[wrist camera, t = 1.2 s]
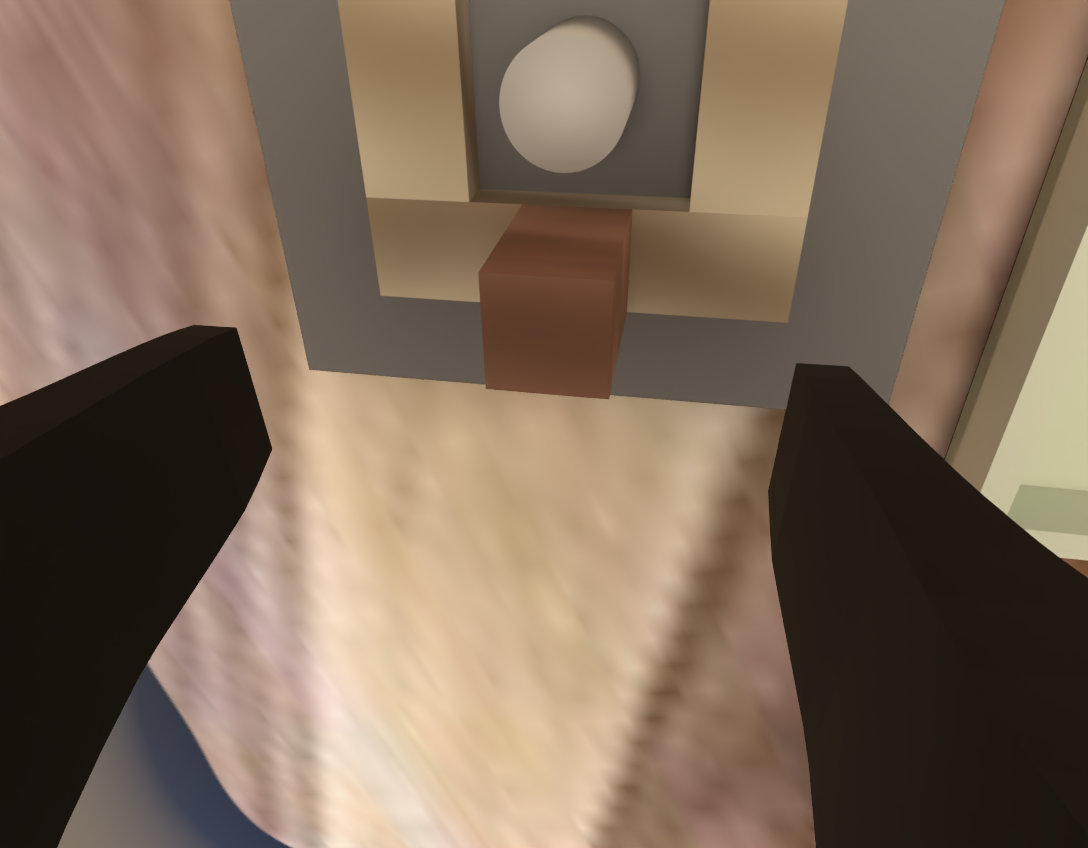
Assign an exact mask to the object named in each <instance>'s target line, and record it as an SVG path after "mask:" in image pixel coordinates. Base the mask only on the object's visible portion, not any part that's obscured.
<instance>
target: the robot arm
mask: <svg viewBox="0 0 1088 848" xmlns="http://www.w3.org/2000/svg"><path fill="white" fill-rule="evenodd" d="M271 451H272V446H271V443H270V440H269V436H268V433H267V429H266V426H265V423H264V419H263V416H262V412H261V409H260V406H259V402H258V399H257V396H256V392H255V389H254V385H253V382H252V379H251V375H250V372H249V368H248V365H247V362H246V358H245V355H244V351H243V348H242V345H241V341H240V338H239V334H238V331H237V328H233V327H217V326H201V325H193V326H189V327H186V328H183V329H180V330H176V331H174V332H171V333H168V334H165V335H163V336H160V337H158V338H155V339H153V340H150V341H148V342H145V343H143V344H141V345H138V346H136V347H133V348H131V349H129V350H127V351H124V352H122V353H120V354H117V355H115V356H113V357H111V358H108V359H106V360H104V361H102V362H99V363H97V364H95V365H93V366H90V367H88V368H86V369H84V370H81V371H79V372H77V373H75V374H73V375H70V376H68V377H66V378H64V379H61V380H59V381H57V382H55V383H52V384H50V385H48V386H46V387H43V388H41V389H39V390H37V391H34V392H32V393H30V394H28V395H25V396H23V397H21V398H18V399H16V400H13V401H11V402H9V403H6V404H4V405H1V406H0V848H57V846H58V844H59V842H60V839H61V837H62V835H63V832H64V829H65V828H66V825H67V823H68V821H69V819H70V817H71V815H72V812H73V810H74V808H75V806H76V804H77V802H78V800H79V798H80V795H81V793H82V791H83V789H84V787H85V785H86V783H87V781H88V778H89V776H90V774H91V772H92V770H93V768H94V766H95V763H96V761H97V759H98V757H99V755H100V753H101V750H102V748H103V746H104V745H105V743H106V741H107V739H108V737H109V735H110V733H111V731H112V729H113V727H114V725H115V723H116V721H117V719H118V717H119V715H120V713H121V711H122V709H123V707H124V705H125V703H126V701H127V699H128V697H129V695H130V694H131V692H132V690H133V688H134V686H135V684H136V682H137V680H138V678H139V676H140V675H141V673H142V671H143V670H144V668H145V666H146V664H147V663H148V661H149V659H150V658H151V656H152V654H153V653H154V651H155V649H156V648H157V646H158V644H159V643H160V641H161V640H162V638H163V637H164V635H165V634H166V632H167V631H168V629H169V628H170V626H171V624H172V623H173V621H174V620H175V618H176V617H177V615H178V614H179V612H180V611H181V609H182V608H183V606H184V605H185V603H186V601H187V600H188V598H189V597H190V595H191V594H192V592H193V591H194V589H195V588H196V586H197V585H198V583H199V582H200V580H201V579H202V577H203V575H204V574H205V572H206V571H207V569H208V568H209V566H210V565H211V563H212V562H213V560H214V559H215V557H216V556H217V554H218V552H219V551H220V549H221V548H222V546H223V545H224V543H225V541H226V540H227V538H228V537H229V535H230V533H231V532H232V530H233V529H234V527H235V526H236V524H237V522H238V521H239V519H240V517H241V516H242V514H243V513H244V511H245V509H246V507H247V505H248V503H249V501H250V499H251V497H252V494H253V492H254V490H255V488H256V486H257V484H258V482H259V479H260V477H261V475H262V472H263V470H264V468H265V465H266V463H267V460H268V458H269V456H270V453H271ZM768 495H769V517H770V536H771V552H772V563H773V569H774V574H775V580H776V585H777V591H778V596H779V601H780V607H781V612H782V617H783V623H784V628H785V633H786V638H787V643H788V649H789V654H790V659H791V664H792V669H793V675H794V680H795V685H796V690H797V696H798V701H799V706H800V711H801V716H802V722H803V727H804V734H805V741H806V748H807V755H808V762H809V772H810V783H811V795H812V806H813V818H814V829H815V841H816V848H1088V578H1087V577H1085V576H1084V575H1083V574H1081V573H1080V572H1078V571H1077V570H1076V569H1074V568H1073V567H1071V566H1070V565H1069V564H1067V563H1066V562H1065V561H1063V560H1062V559H1061V558H1059V557H1058V556H1057V555H1056V554H1054V553H1053V552H1052V551H1050V550H1049V549H1048V548H1047V547H1045V546H1044V545H1043V544H1041V543H1040V542H1039V541H1038V540H1036V539H1035V538H1034V537H1033V536H1031V535H1030V534H1029V533H1028V532H1026V531H1025V530H1024V529H1023V528H1022V527H1021V526H1019V525H1018V524H1017V523H1016V522H1015V521H1013V520H1012V519H1011V518H1010V517H1009V516H1007V515H1006V514H1005V513H1004V512H1003V511H1001V510H1000V509H999V508H998V507H997V506H996V505H994V504H993V503H992V502H991V501H990V500H988V499H987V498H986V497H985V496H984V495H983V494H981V493H980V492H979V491H978V490H977V489H976V488H975V487H974V486H973V485H971V484H970V483H969V482H968V481H967V480H966V479H965V478H964V477H962V476H961V475H960V474H959V473H958V472H957V471H956V470H955V469H954V468H953V467H952V466H951V465H949V464H948V463H947V462H946V461H945V460H944V459H943V458H942V457H941V456H940V455H939V454H938V453H937V452H936V451H935V450H934V449H933V448H931V447H930V446H929V445H928V444H927V443H926V442H925V441H924V440H923V439H922V438H921V437H920V436H919V435H918V434H917V433H916V432H915V431H914V430H913V429H912V428H911V427H910V426H909V425H908V424H907V423H906V422H905V421H904V420H903V419H902V418H901V417H900V416H899V415H898V414H897V413H896V412H895V411H894V410H893V409H892V408H891V407H890V406H889V405H888V404H887V403H886V402H885V401H884V400H883V399H882V398H881V397H880V396H879V395H878V394H877V393H876V392H875V391H874V390H873V389H872V388H871V387H870V386H869V385H868V384H867V383H866V382H865V381H864V380H863V379H862V378H861V377H860V376H859V375H858V374H857V373H856V372H855V371H854V370H852V369H851V368H850V367H849V366H836V365H820V364H804V363H796V366H795V370H794V375H793V380H792V384H791V389H790V393H789V398H788V403H787V407H786V412H785V416H784V421H783V426H782V430H781V435H780V439H779V444H778V449H777V453H776V458H775V462H774V467H773V472H772V476H771V481H770V485H769V490H768Z"/></svg>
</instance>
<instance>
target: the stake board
mask: <svg viewBox="0 0 1088 848" xmlns="http://www.w3.org/2000/svg"><path fill="white" fill-rule="evenodd" d="M468 1H469V17H470V34H471V50H472V67H473V83H474V100H475V116H476V133H477V149H478V166H479V182H480V189H489V190H512V191H536V192H560V193H583V194H607V195H631V196H655V197H678V198H690V197H691V186H692V176H693V166H694V155H695V145H696V134H697V124H698V114H699V103H700V93H701V83H702V72H703V62H704V51H705V41H706V31H707V20H708V10H709V0H468ZM1004 3H1005V0H848V4H847V9H846V14H845V20H844V25H843V30H842V36H841V41H840V47H839V52H838V57H837V63H836V68H835V73H834V79H833V84H832V89H831V95H830V100H829V105H828V111H827V116H826V122H825V127H824V132H823V138H822V143H821V148H820V154H819V159H818V164H817V170H816V175H815V180H814V186H813V191H812V196H811V202H810V207H809V213H808V218H807V223H806V229H805V234H804V239H803V245H802V250H801V255H800V261H799V266H798V271H797V277H796V282H795V288H794V293H793V298H792V304H791V309H790V314H789V320H788V323H785V322H770V321H755V320H740V319H725V318H709V317H694V316H679V315H664V314H649V313H634V312H627V314H626V319H625V324H624V329H623V333H622V338H621V343H620V348H619V353H618V357H617V362H616V367H615V372H614V377H613V382H612V386H611V391H610V395H617V396H629V397H641V398H653V399H665V400H677V401H689V402H701V403H713V404H724V405H736V406H748V407H760V408H772V409H784V410H786V407H787V403H788V398H789V393H790V389H791V384H792V380H793V375H794V370H795V366H796V363H804V364H820V365H836V366H849V367H850V368H851V369H852V370H854V371H855V372H856V373H857V374H858V375H859V376H860V377H861V378H862V379H863V380H864V381H865V382H866V383H867V384H868V385H869V386H870V387H871V388H872V389H873V390H874V391H875V392H876V393H877V394H878V395H879V396H880V397H881V398H882V399H883V400H884V401H885V402H886V403H887V404H889V401H890V397H891V394H892V390H893V387H894V383H895V380H896V376H897V373H898V369H899V366H900V362H901V359H902V356H903V352H904V349H905V345H906V342H907V338H908V335H909V331H910V328H911V324H912V321H913V317H914V314H915V311H916V307H917V304H918V300H919V297H920V293H921V290H922V286H923V283H924V279H925V276H926V273H927V269H928V266H929V262H930V259H931V255H932V252H933V248H934V245H935V241H936V238H937V234H938V231H939V228H940V224H941V221H942V217H943V214H944V210H945V207H946V203H947V200H948V196H949V193H950V189H951V186H952V183H953V179H954V176H955V172H956V169H957V165H958V162H959V158H960V155H961V151H962V148H963V145H964V141H965V138H966V134H967V131H968V127H969V124H970V120H971V117H972V113H973V110H974V106H975V103H976V100H977V96H978V93H979V89H980V86H981V82H982V79H983V75H984V72H985V68H986V65H987V61H988V58H989V55H990V51H991V48H992V44H993V41H994V37H995V34H996V30H997V27H998V23H999V20H1000V17H1001V13H1002V10H1003V6H1004ZM230 5H231V9H232V14H233V19H234V23H235V28H236V33H237V37H238V42H239V46H240V51H241V56H242V60H243V65H244V70H245V74H246V79H247V83H248V88H249V93H250V97H251V102H252V106H253V111H254V116H255V120H256V125H257V130H258V134H259V139H260V143H261V148H262V153H263V157H264V162H265V167H266V171H267V176H268V180H269V185H270V190H271V194H272V199H273V204H274V208H275V213H276V217H277V222H278V227H279V231H280V236H281V241H282V245H283V250H284V254H285V259H286V264H287V268H288V273H289V278H290V282H291V287H292V291H293V296H294V301H295V305H296V310H297V315H298V319H299V324H300V328H301V333H302V338H303V342H304V347H305V352H306V356H307V361H308V365H309V370H319V371H331V372H343V373H355V374H367V375H379V376H391V377H403V378H415V379H427V380H438V381H450V382H462V383H474V384H485V369H484V353H483V338H482V323H481V308H480V302H469V301H453V300H438V299H423V298H408V297H393V296H381V295H380V288H379V282H378V275H377V268H376V261H375V254H374V247H373V240H372V234H371V227H370V220H369V213H368V206H367V199H366V192H365V186H364V179H363V172H362V165H361V158H360V151H359V144H358V138H357V131H356V124H355V117H354V110H353V103H352V97H351V90H350V83H349V76H348V69H347V62H346V55H345V49H344V42H343V35H342V28H341V21H340V14H339V7H338V1H337V0H230Z"/></svg>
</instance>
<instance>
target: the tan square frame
mask: <svg viewBox="0 0 1088 848" xmlns="http://www.w3.org/2000/svg"><path fill="white" fill-rule="evenodd" d="M337 1H338V7H339V14H340V21H341V28H342V35H343V42H344V49H345V55H346V62H347V69H348V76H349V83H350V90H351V97H352V103H353V110H354V117H355V124H356V131H357V138H358V144H359V151H360V158H361V165H362V172H363V179H364V186H365V192H366V199H367V206H368V213H369V220H370V227H371V234H372V240H373V247H374V254H375V261H376V268H377V275H378V282H379V288H380V295H381V296H393V297H408V298H423V299H438V300H453V301H469V302H480V308H481V323H482V338H483V353H484V369H485V384H486V389H494V390H506V391H517V392H529V393H541V394H553V395H565V396H576V397H588V398H600V399H609V396H610V391H611V386H612V382H613V377H614V372H615V367H616V362H617V357H618V353H619V348H620V343H621V338H622V333H623V329H624V324H625V319H626V314H627V312H634V313H649V314H664V315H679V316H694V317H709V318H725V319H740V320H755V321H770V322H785V323H788V320H789V314H790V309H791V304H792V298H793V293H794V288H795V282H796V277H797V271H798V266H799V261H800V255H801V250H802V245H803V239H804V234H805V229H806V223H807V218H808V213H809V207H810V202H811V196H812V191H813V186H814V180H815V175H816V170H817V164H818V159H819V154H820V148H821V143H822V138H823V132H824V127H825V122H826V116H827V111H828V105H829V100H830V95H831V89H832V84H833V79H834V73H835V68H836V63H837V57H838V52H839V47H840V41H841V36H842V30H843V25H844V20H845V14H846V9H847V4H848V0H709V10H708V20H707V31H706V41H705V51H704V62H703V72H702V83H701V93H700V103H699V114H698V124H697V134H696V145H695V155H694V166H693V176H692V186H691V197H690V198H678V197H655V196H631V195H607V194H583V193H560V192H536V191H512V190H489V189H480V182H479V166H478V149H477V133H476V116H475V100H474V83H473V67H472V50H471V34H470V17H469V1H468V0H337Z"/></svg>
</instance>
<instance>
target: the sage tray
mask: <svg viewBox="0 0 1088 848" xmlns="http://www.w3.org/2000/svg"><path fill="white" fill-rule="evenodd" d="M945 461H946V462H947V463H948V464H949V465H951V466H952V467H953V468H954V469H955V470H956V471H957V472H958V473H959V474H960V475H961V476H962V477H964V478H965V479H966V480H967V481H968V482H969V483H970V484H971V485H973V486H974V487H975V488H976V489H977V490H978V491H979V492H980V493H981V494H983V495H984V496H985V497H986V498H987V499H988V500H990V501H991V502H992V503H993V504H994V505H996V506H997V507H998V508H999V509H1000V510H1001V511H1003V512H1004V513H1005V514H1006V515H1007V516H1009V517H1010V518H1011V519H1012V520H1013V521H1015V522H1016V523H1017V524H1018V525H1019V526H1021V527H1022V528H1023V529H1024V530H1025V531H1026V532H1028V533H1029V534H1030V535H1031V536H1033V537H1034V538H1035V539H1036V540H1038V541H1039V542H1040V543H1041V544H1043V545H1044V546H1045V547H1047V548H1048V549H1049V550H1050V551H1052V552H1053V553H1054V554H1056V555H1057V556H1058V557H1060V558H1069V559H1079V560H1088V59H1087V62H1086V65H1085V68H1084V71H1083V73H1082V76H1081V79H1080V82H1079V85H1078V87H1077V90H1076V93H1075V96H1074V99H1073V101H1072V104H1071V107H1070V110H1069V113H1068V116H1067V118H1066V121H1065V124H1064V127H1063V130H1062V132H1061V135H1060V138H1059V141H1058V144H1057V146H1056V149H1055V152H1054V155H1053V158H1052V160H1051V163H1050V166H1049V169H1048V172H1047V174H1046V177H1045V180H1044V183H1043V186H1042V188H1041V191H1040V194H1039V197H1038V200H1037V202H1036V205H1035V208H1034V211H1033V214H1032V217H1031V219H1030V222H1029V225H1028V228H1027V231H1026V233H1025V236H1024V239H1023V242H1022V245H1021V247H1020V250H1019V253H1018V256H1017V259H1016V261H1015V264H1014V267H1013V270H1012V273H1011V275H1010V278H1009V281H1008V284H1007V287H1006V289H1005V292H1004V295H1003V298H1002V301H1001V303H1000V306H999V309H998V312H997V315H996V318H995V320H994V323H993V326H992V329H991V332H990V334H989V337H988V340H987V343H986V346H985V348H984V351H983V354H982V357H981V360H980V362H979V365H978V368H977V371H976V374H975V376H974V379H973V382H972V385H971V388H970V390H969V393H968V396H967V399H966V402H965V405H964V407H963V410H962V413H961V416H960V419H959V421H958V424H957V427H956V430H955V433H954V435H953V438H952V441H951V444H950V447H949V449H948V452H947V455H946V458H945Z"/></svg>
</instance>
